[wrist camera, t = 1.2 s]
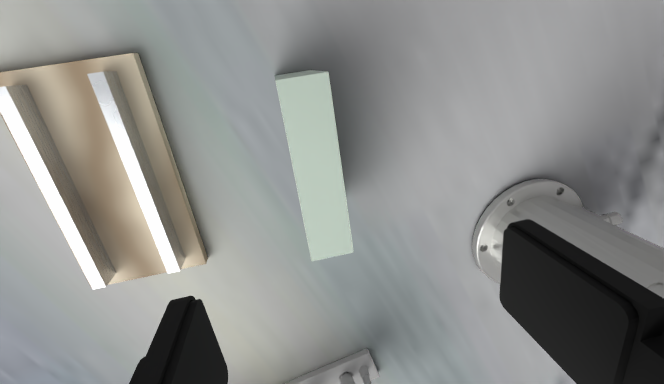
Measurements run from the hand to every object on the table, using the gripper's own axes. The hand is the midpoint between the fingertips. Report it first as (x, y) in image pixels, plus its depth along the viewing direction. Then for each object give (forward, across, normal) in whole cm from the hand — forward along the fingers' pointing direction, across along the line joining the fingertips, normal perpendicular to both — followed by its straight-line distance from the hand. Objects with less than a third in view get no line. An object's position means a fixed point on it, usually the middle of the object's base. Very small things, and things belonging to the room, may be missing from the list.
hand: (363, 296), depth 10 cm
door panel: (+20, 0, 0) cm, 21 cm away
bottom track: (+20, +16, 0) cm, 26 cm away
